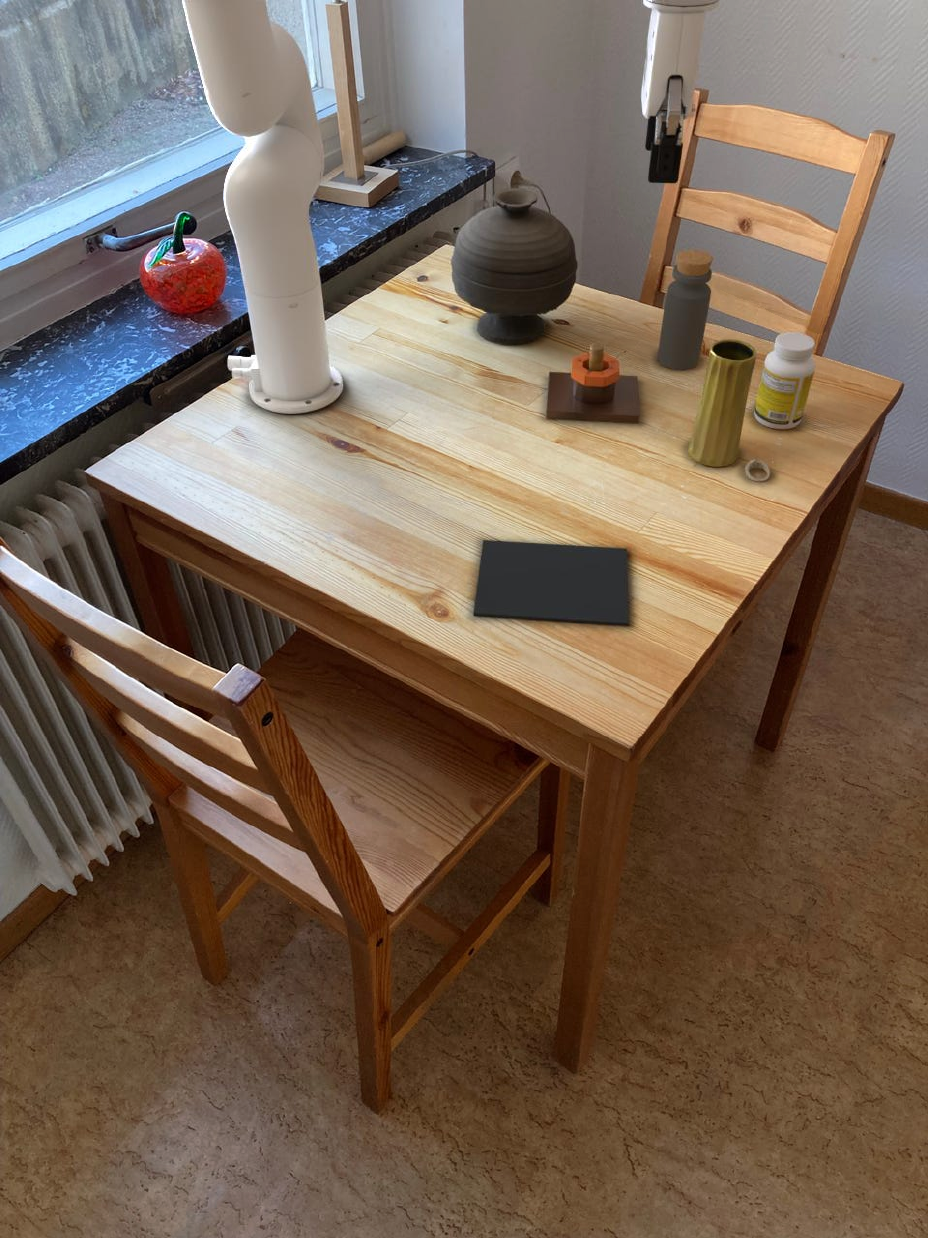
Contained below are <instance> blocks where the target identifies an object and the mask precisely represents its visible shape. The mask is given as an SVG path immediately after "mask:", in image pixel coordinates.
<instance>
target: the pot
mask: <svg viewBox="0 0 928 1238" xmlns="http://www.w3.org/2000/svg"><path fill="white" fill-rule="evenodd" d="M492 201H493V203H494V204H495V206H492V207H487V208H485V209H481V210H480V211H478V212H477V213H476V214H475V215H473V216H472V217H471V218H469V220H468V221H466V223H465V224H464V225H463V226H462V227H461V229H460V231H459V232H458V233H457V236H456V240H455V242H454V248H453V255H452V256H451V259H450V265H451V280H452V283H453V288H454V291H455V293H456V294H457V296H458V297H459V298H460V299H461V300H462V301H464V302H466V303H467V304H469V306H471V308H475V309H478V310H482V311H483V312H484V313H483V314H482V315H481V316H480V317H479V319H478V321H477V325H476V332H477V333H478V335H479V336H480V337H481V338H483V339H485V340H486V341H490V342H492V343H495V344H500V345H506V346H509V345H510V346H519V345H520V346H521V345H528V344H529V343H533V342H534V341H536V340H538V339H539V338H542V336H543V335H544V334H545V332H546V324H545V322H544V319H543V318H542V317H541V316H542V315H547V314H548V313H549V312H553V311H555V310H557V309H558V308H559V307H560V306H561V305H563V304H564V303H565V302H567V300H569V298H570V296H571V294H572V292H573V288H574V286H575V284H576V281H577V270H578V267H579V265H578V260H577V254H576V253H577V252H576V246H575V241H574V238H573V235H572V234H571V232H570V230H569V228H568V227H567V226H566V225H565V224H564V223H563V222H562V221H561V220H559V219H558V217H556V216H555V215H553V214H552V213H551V212H548V211H547V210H545V209H542V208H539V207H536V206H533V205H534V204H536V203H537V202H538V195H537V193H535V192H533V191H530V190H528V189H525V188H521V187H512V188H511V187H508V188H503V189H500V190H497V191H496V192H495V193H494V194H493V197H492Z"/></svg>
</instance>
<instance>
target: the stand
mask: <svg viewBox="0 0 928 1238" xmlns="http://www.w3.org/2000/svg"><path fill="white" fill-rule="evenodd" d="M605 348H606V347H605V345H604V344H603V343H598V342H595V343H593V344H590V346H589V353H590V357H589V368H587V370H589V371H595V372H602V371H604V369H602V368H603V358H604V353H605ZM638 377H639V376H638V375H625V374H623V375H622V374H619V380H618V381H616V382H614V383H612V384H610V385H607V386H604V387H600V386H586V385H583V384H581V383H579V382H578V381H576V380H574V379H572V378H571V372H563V371H561V372H560V371H549V372H548V382H547V383H548V385H547V397H546V398H547V400H546V409H545V410H546V411H545V414H546V415H545V419H547V420H565V421H581V422H582V421H583V422H585V421H586V422H602V423H603V422H605V423H624V424H639V422H640V400H639V399H640V398H639V378H638Z"/></svg>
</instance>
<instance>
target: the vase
mask: <svg viewBox="0 0 928 1238" xmlns="http://www.w3.org/2000/svg"><path fill="white" fill-rule="evenodd" d="M709 347H710V348H709V352H708V353H709V354H708V359H707V366H706V371H705V375H704V379H703V384H702V390H701V395H700V400H699V405H698V409H697V413H696V415H695V416H696V417H695V420H694V423H693V428H692V433H691V438H690V442H689V444H688V447H687V452H688V455H689V456H690V458H691V459H692V460H694V461H695V462H696V463H698V464H700V465H704V466H707V467H712V468H720V467H721V468H722V467H727V466H729V465H732V464H733V463H734V462H735V461H736V460H738V457H739V450H740V443H741V437H742V431H743V426H744V421H745V414H746V410H747V409H746V408H747V403H748V398H749V394H750V393H749V392H750V387H751V384H752V378H753V373H754V368H755V364H756V359H757V350H756V347H754V346H753V345H751V344H750V343H748V342H745V341H743V340H739V339H734V338H733V339H732V338H726V339H720V340H717V341H715V342H713V343H712V344H711V345H710V346H709Z"/></svg>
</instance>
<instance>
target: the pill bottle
mask: <svg viewBox="0 0 928 1238" xmlns="http://www.w3.org/2000/svg"><path fill="white" fill-rule="evenodd" d="M815 345H816V342H815V340H814V338H812V337H811V336H810V335H808V334H805V333H802V332H797V331H787V332H783V333H780V334H778V335H777V336H776V338H775V341H774V345H773V350H771V351H770V352H769V353H768V354H767V355H766V356H765V359H764V363H763V367H762V371H761V377H760V381H759V385H758V390H757V395H756V400H755V404H754V410H753V416H754V419H755V420H756V421H757V422H758V423H760V424H761V425H762V426H764V427H767V428H770V429H774V430H789V429H792V428H795V427H797V426H798V425H800V423H801V422H802V420H803V417H804V413H805V409H806V405H807V403H808V402H807V401H808V397H809V394H810V390H811V385H812V381H813V379H814V374H815V370H816V361H815V359H814V358H813V354H814V351H815Z"/></svg>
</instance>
